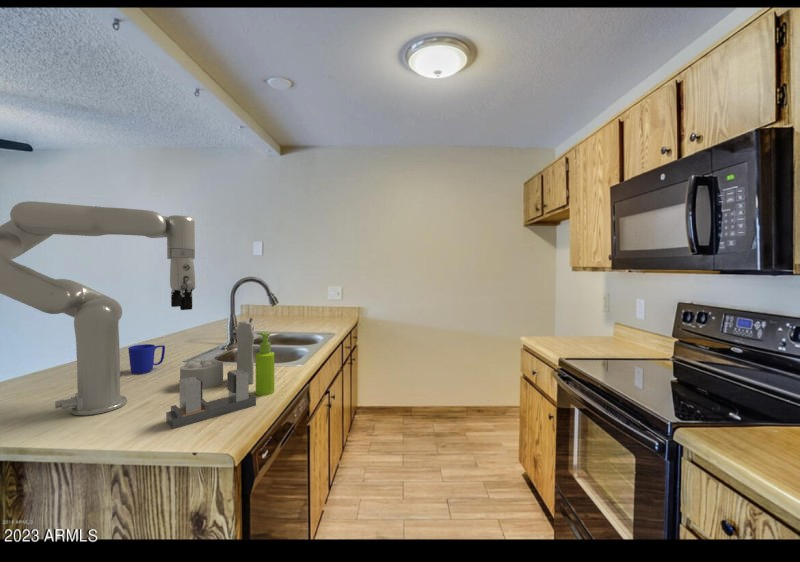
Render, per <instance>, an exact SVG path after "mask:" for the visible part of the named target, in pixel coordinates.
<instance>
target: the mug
mask: <svg viewBox="0 0 800 562" xmlns="http://www.w3.org/2000/svg"><path fill="white" fill-rule="evenodd" d="M158 348H161V350H162V351H161V357H160V360H159V361H158V362H156V363H155V361H154V360H155V351H156V349H158ZM127 349H128V356H129V359H128V360H129V367H130V373H132V374H134V375H140V374H141V375H142V374H147V373H150V372H152V371H153V368H154V366H159V365H161V364H162V363H163V362H164V358H165V354H166V353H165V352H166V345H163V344H162V345H161V344H160V345H159V344H158V345H154V344H149V343H146V344H138V345H132V346H129V347H128V348H127Z"/></svg>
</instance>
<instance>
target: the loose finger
mask: <svg viewBox="0 0 800 562" xmlns="http://www.w3.org/2000/svg"><path fill="white" fill-rule="evenodd" d="M202 399H203V389H202V381H201V380H200V379H198V378H195V377H190V378H185V379H180V378H179V408H180V409H181V410H182V411H183V412H184V413H185V414H189V413H193V412H197V411H200V410H201V400H202Z"/></svg>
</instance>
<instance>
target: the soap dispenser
mask: <svg viewBox="0 0 800 562" xmlns="http://www.w3.org/2000/svg"><path fill="white" fill-rule="evenodd" d="M256 335H260V336H262V342H259V352H257V353H255V395H257V396H268V395H271V394H273V393H275V352H274V351H271V346H272V345H271V344H272V343H271V342H269V337H270V336H271V334H270V333H269V332H266V331H262V332H261V331H260V332H257V333H256Z"/></svg>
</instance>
